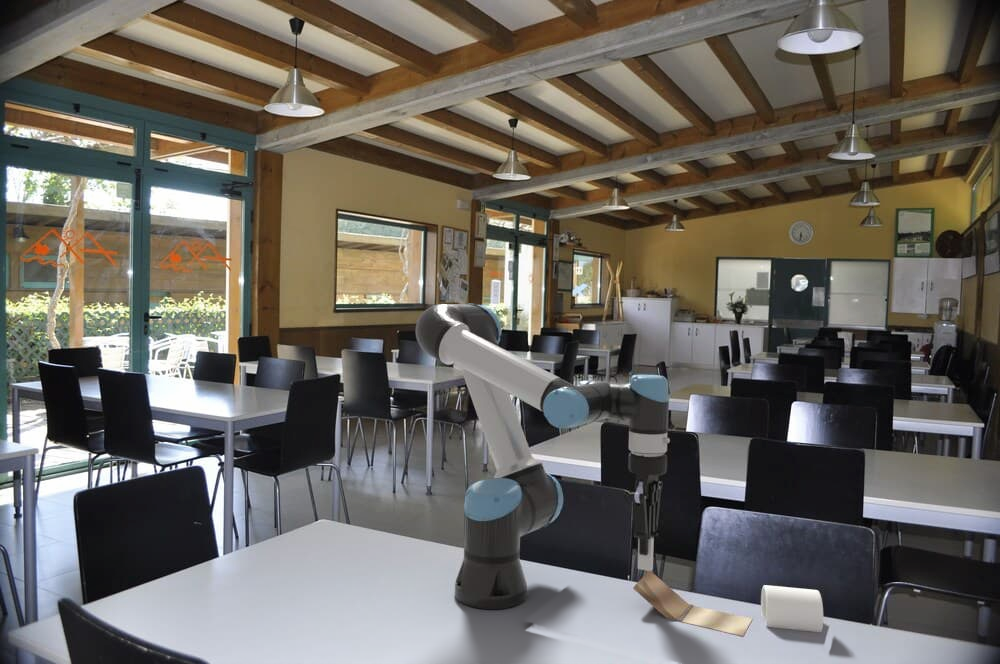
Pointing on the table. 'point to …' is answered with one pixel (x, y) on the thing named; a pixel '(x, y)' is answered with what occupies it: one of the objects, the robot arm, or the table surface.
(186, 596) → the table surface
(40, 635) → the table surface
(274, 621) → the table surface
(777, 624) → the mug
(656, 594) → the plank
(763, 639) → the table surface
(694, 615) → the floorboard
